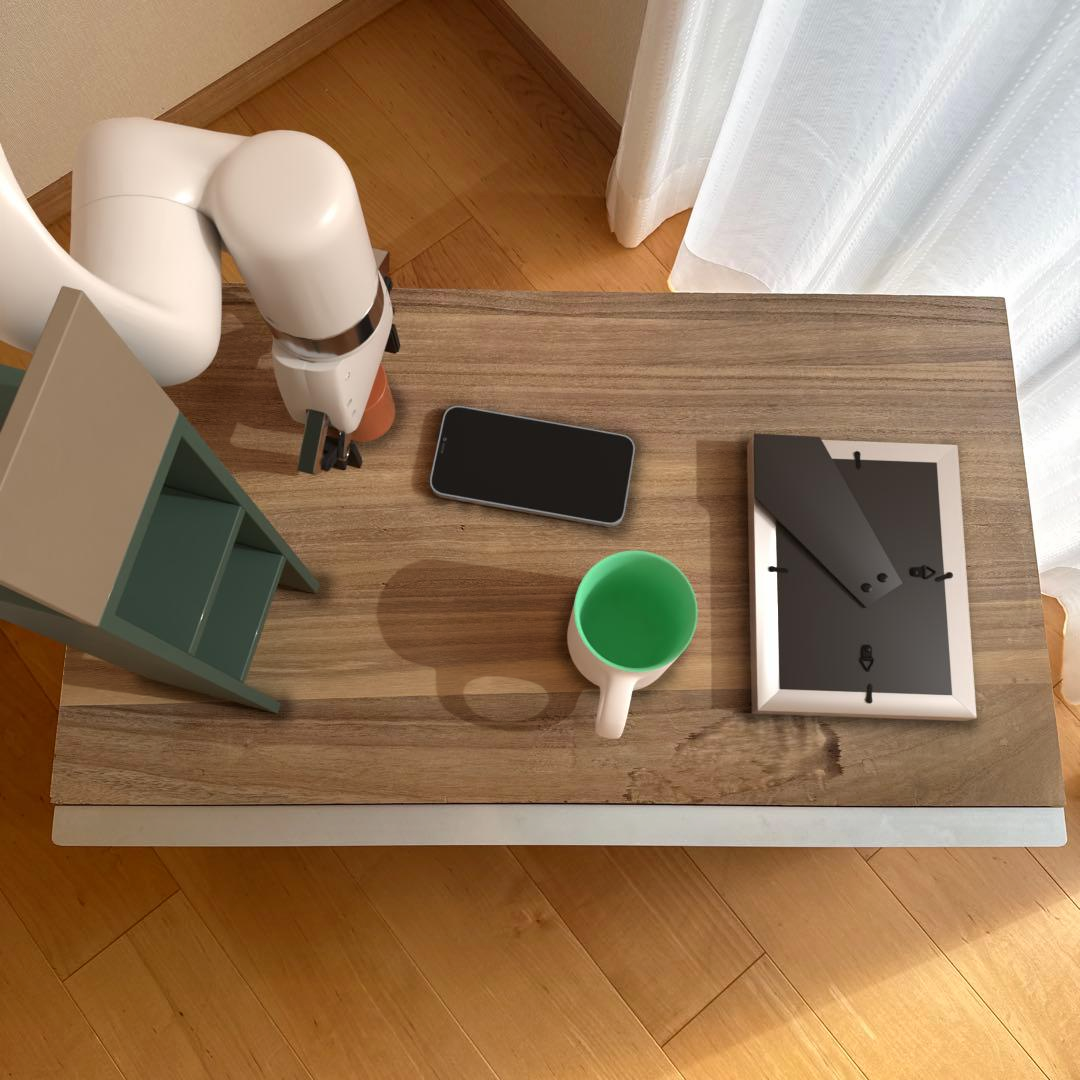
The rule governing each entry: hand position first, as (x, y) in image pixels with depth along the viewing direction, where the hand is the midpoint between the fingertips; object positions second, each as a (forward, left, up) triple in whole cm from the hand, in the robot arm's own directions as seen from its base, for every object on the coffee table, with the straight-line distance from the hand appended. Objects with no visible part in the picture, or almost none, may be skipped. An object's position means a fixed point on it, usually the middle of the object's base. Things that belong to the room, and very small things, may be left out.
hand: (361, 402), depth 83 cm
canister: (0, 0, -2) cm, 2 cm away
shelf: (-4, -19, -2) cm, 20 cm away
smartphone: (+14, -1, -2) cm, 14 cm away
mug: (+24, -14, -2) cm, 28 cm away
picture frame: (+39, -3, -2) cm, 40 cm away
